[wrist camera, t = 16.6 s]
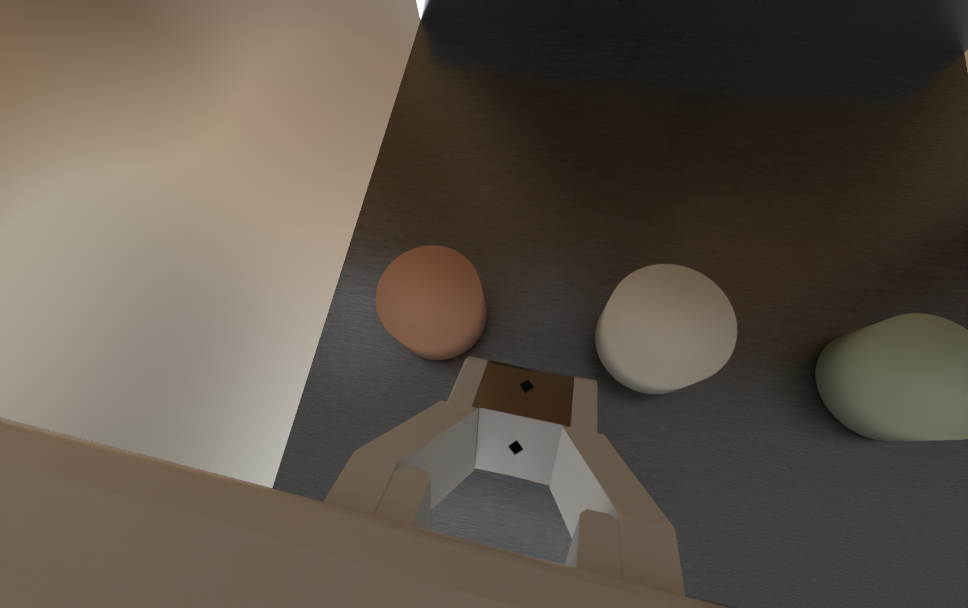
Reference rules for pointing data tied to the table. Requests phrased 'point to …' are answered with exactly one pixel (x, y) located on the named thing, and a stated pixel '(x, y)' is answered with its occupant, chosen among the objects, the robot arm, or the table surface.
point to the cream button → (665, 329)
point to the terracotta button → (432, 302)
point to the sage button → (899, 379)
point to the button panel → (686, 242)
